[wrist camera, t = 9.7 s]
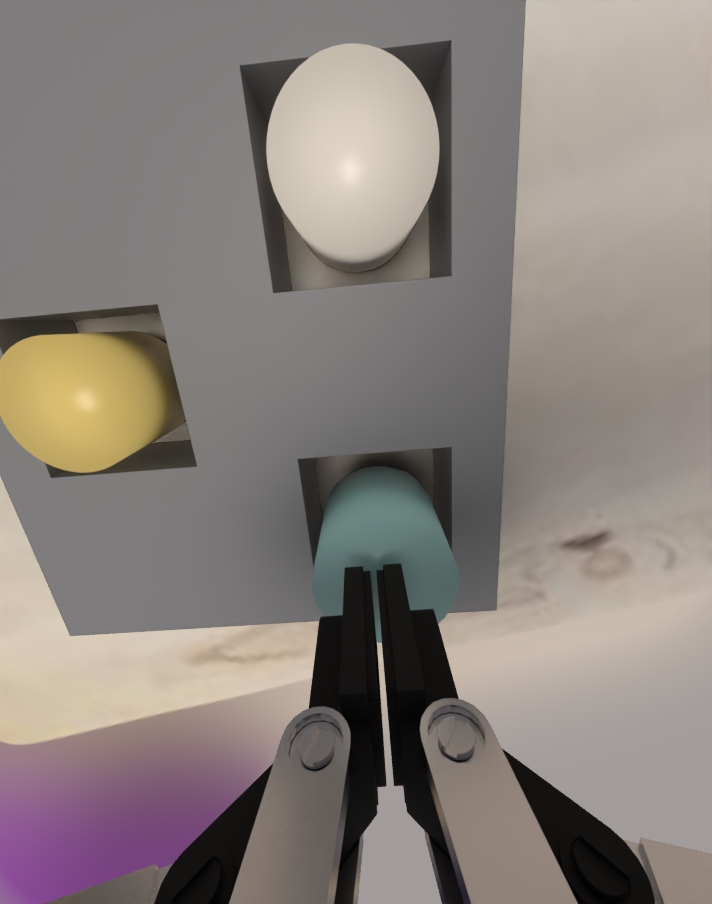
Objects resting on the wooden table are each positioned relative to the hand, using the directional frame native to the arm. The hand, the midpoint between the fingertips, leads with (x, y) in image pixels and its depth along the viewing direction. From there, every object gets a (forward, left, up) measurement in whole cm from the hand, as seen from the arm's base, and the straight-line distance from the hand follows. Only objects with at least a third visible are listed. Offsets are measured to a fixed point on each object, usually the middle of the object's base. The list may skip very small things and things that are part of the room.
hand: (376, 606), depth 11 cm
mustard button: (+10, -6, -7) cm, 13 cm away
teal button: (0, 0, -5) cm, 5 cm away
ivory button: (0, -12, -7) cm, 14 cm away
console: (+5, -6, -9) cm, 12 cm away
